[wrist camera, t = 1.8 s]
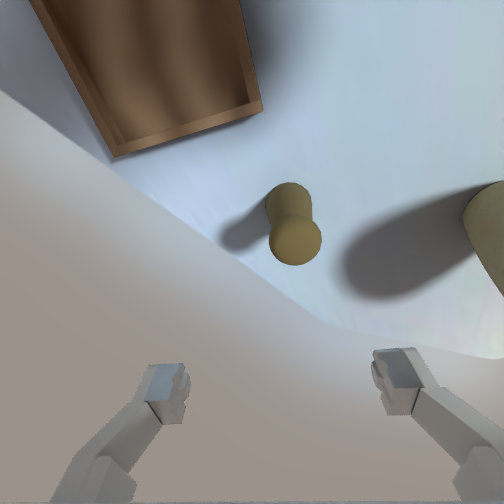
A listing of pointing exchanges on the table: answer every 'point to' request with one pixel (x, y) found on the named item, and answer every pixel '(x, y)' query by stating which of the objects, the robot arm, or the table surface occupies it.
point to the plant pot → (488, 230)
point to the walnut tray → (154, 65)
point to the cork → (292, 224)
